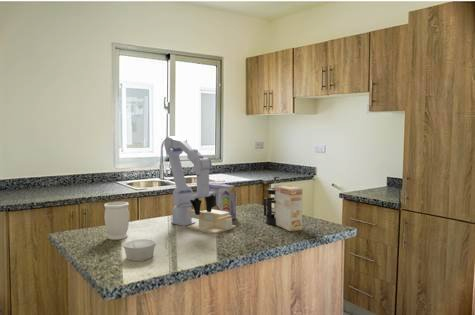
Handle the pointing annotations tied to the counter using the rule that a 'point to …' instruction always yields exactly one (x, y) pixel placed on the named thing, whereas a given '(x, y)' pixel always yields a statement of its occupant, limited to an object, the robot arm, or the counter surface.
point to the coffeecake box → (288, 207)
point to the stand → (214, 223)
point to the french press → (270, 206)
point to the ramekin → (139, 249)
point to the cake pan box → (224, 198)
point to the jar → (116, 219)
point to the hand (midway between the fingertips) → (203, 213)
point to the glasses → (207, 216)
